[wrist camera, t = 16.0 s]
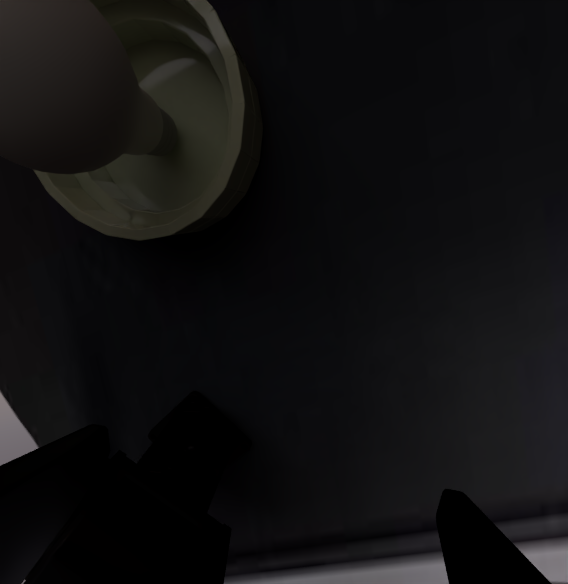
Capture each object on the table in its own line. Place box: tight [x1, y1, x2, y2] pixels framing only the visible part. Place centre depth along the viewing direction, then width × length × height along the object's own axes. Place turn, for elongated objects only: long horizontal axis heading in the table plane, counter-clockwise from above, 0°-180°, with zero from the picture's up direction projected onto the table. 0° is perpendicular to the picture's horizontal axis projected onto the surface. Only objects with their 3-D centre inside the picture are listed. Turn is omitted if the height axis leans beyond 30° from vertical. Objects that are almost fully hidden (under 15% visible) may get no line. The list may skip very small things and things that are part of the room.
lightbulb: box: [0, 0, 177, 174], centre depth 13 cm, size 6×6×11 cm
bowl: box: [33, 0, 263, 241], centre depth 16 cm, size 12×12×4 cm
